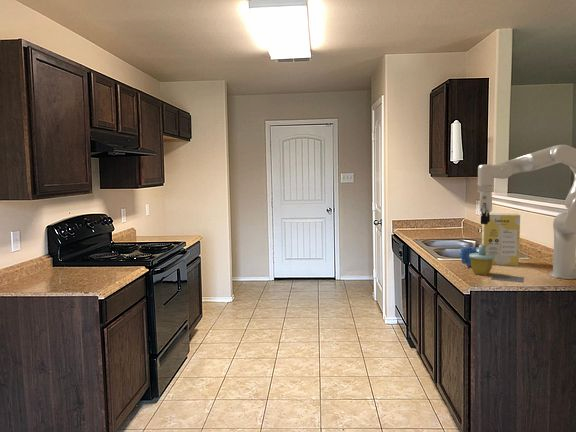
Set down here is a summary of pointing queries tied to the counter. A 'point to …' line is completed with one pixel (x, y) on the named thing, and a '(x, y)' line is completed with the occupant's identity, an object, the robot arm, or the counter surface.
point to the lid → (482, 254)
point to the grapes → (467, 255)
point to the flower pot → (481, 266)
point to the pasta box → (502, 238)
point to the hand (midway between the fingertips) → (485, 223)
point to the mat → (507, 278)
